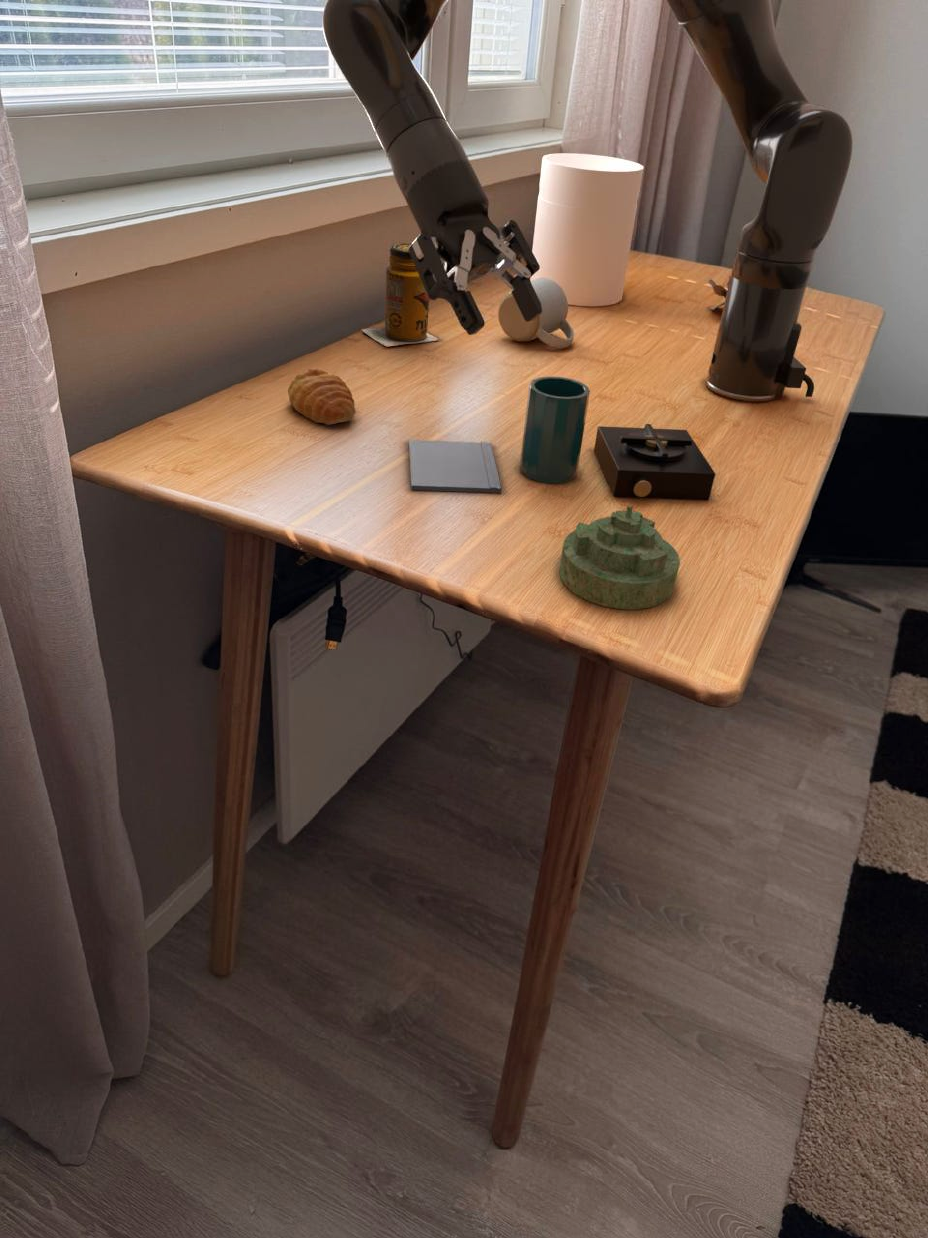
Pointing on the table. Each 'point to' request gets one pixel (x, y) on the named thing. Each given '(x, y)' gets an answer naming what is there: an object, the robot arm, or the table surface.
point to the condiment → (403, 302)
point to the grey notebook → (453, 466)
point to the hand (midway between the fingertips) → (507, 323)
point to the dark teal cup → (553, 429)
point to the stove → (653, 463)
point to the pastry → (321, 397)
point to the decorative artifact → (619, 562)
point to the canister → (586, 225)
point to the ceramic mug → (545, 322)
